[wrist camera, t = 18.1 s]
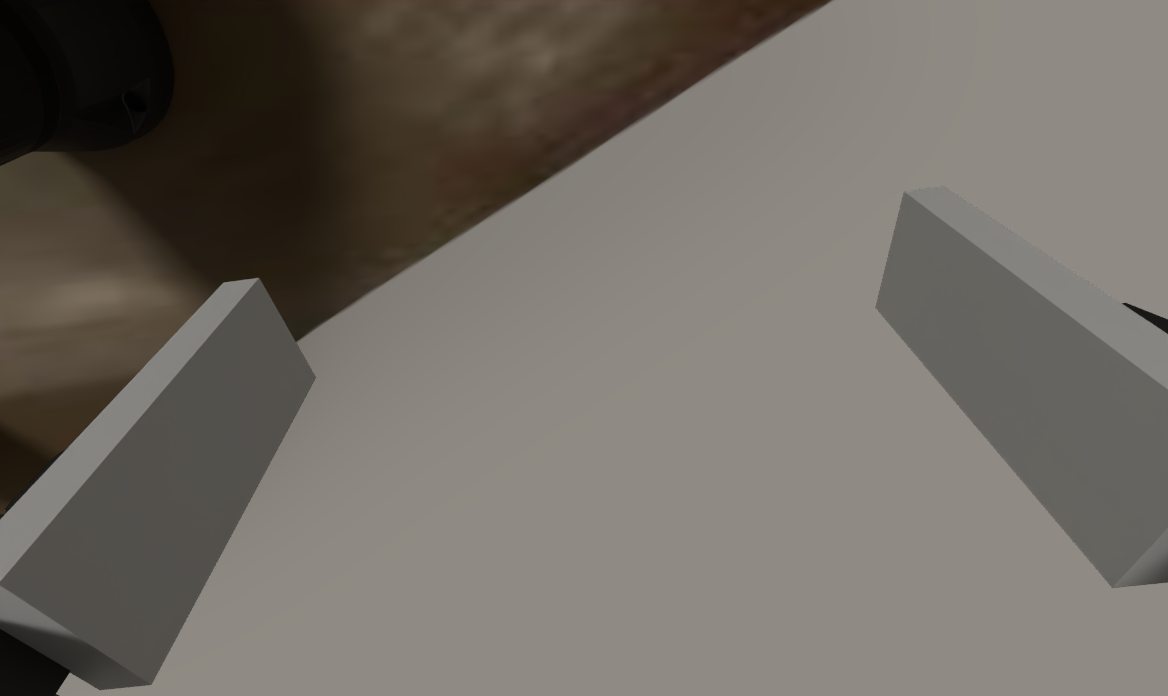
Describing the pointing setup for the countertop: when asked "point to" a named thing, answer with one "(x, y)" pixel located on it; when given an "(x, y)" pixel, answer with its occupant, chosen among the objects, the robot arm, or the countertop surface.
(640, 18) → the countertop surface
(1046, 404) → the robot arm
